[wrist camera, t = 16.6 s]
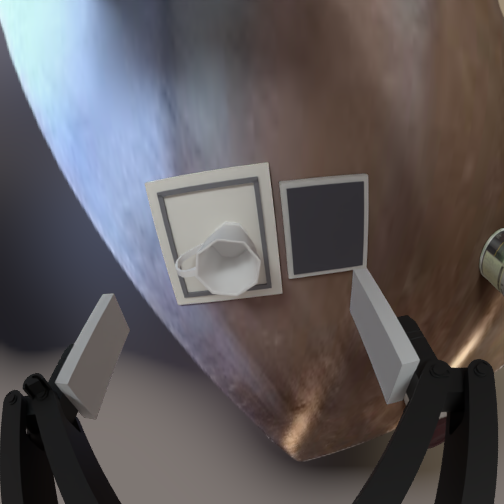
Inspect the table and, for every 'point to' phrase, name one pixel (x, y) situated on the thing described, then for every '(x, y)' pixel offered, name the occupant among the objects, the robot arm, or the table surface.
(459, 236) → the table surface
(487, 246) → the coffee can
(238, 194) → the board
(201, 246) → the cup
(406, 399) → the coffee cup
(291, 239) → the ink pad
